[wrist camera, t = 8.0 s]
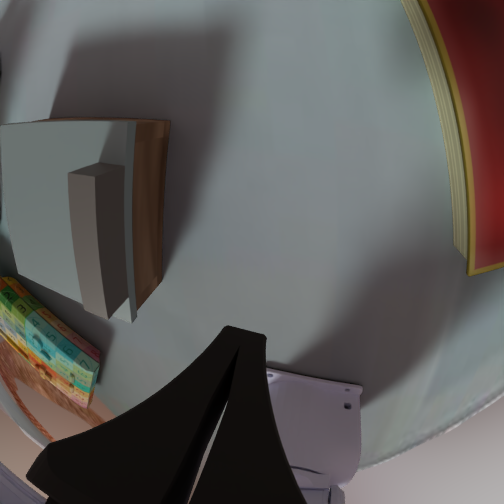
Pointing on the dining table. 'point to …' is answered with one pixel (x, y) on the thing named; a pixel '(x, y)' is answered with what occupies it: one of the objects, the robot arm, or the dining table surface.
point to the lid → (73, 209)
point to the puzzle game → (48, 343)
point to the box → (146, 201)
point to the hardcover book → (469, 116)
